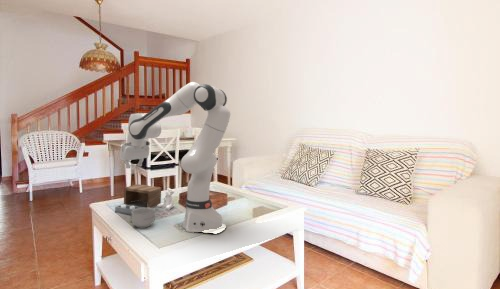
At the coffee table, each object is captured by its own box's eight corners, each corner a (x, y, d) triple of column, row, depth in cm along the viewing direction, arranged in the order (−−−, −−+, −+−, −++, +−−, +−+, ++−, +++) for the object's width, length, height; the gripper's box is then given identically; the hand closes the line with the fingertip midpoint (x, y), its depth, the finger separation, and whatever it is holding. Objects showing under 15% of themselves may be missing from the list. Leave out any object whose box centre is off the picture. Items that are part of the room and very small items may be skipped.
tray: (140, 212, 163) (140, 205, 163) (133, 215, 157) (133, 208, 157) (122, 209, 166) (122, 202, 166) (115, 212, 160) (115, 205, 160)
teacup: (146, 231, 137) (147, 214, 136) (126, 227, 139) (126, 211, 138) (161, 221, 150) (161, 206, 150) (142, 219, 152) (143, 204, 152)
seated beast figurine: (156, 207, 174) (157, 188, 173) (167, 204, 181) (168, 186, 180) (166, 210, 169) (167, 190, 168) (177, 208, 176) (178, 188, 175)
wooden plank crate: (160, 203, 182) (161, 187, 181) (148, 208, 171) (149, 191, 170) (136, 200, 187) (137, 184, 186) (123, 204, 176) (124, 187, 175)
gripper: (127, 143, 146) (125, 170, 148) (151, 142, 166) (150, 165, 167) (117, 142, 148) (115, 168, 149) (142, 141, 168) (140, 164, 169)
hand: (133, 167), depth 158 cm, fingers open, 8 cm apart
